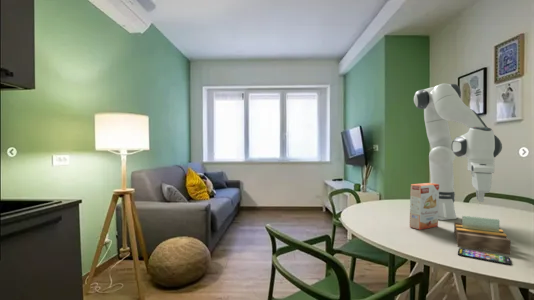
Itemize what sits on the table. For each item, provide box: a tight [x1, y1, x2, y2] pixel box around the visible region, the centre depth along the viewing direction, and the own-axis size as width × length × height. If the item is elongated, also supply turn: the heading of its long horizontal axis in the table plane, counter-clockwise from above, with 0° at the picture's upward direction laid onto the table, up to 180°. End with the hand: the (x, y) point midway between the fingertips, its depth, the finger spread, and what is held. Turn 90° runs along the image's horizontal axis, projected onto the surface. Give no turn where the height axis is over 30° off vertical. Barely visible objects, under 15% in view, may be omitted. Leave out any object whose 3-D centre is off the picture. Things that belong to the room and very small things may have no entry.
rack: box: [453, 221, 511, 255], centre depth 119 cm, size 16×20×5 cm
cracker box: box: [409, 182, 439, 231], centre depth 141 cm, size 14×6×21 cm, turn 118°
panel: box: [461, 215, 501, 233], centre depth 119 cm, size 12×2×9 cm, turn 61°
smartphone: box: [457, 247, 512, 266], centre depth 104 cm, size 8×1×15 cm
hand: (480, 200), depth 118 cm, fingers open, 2 cm apart
